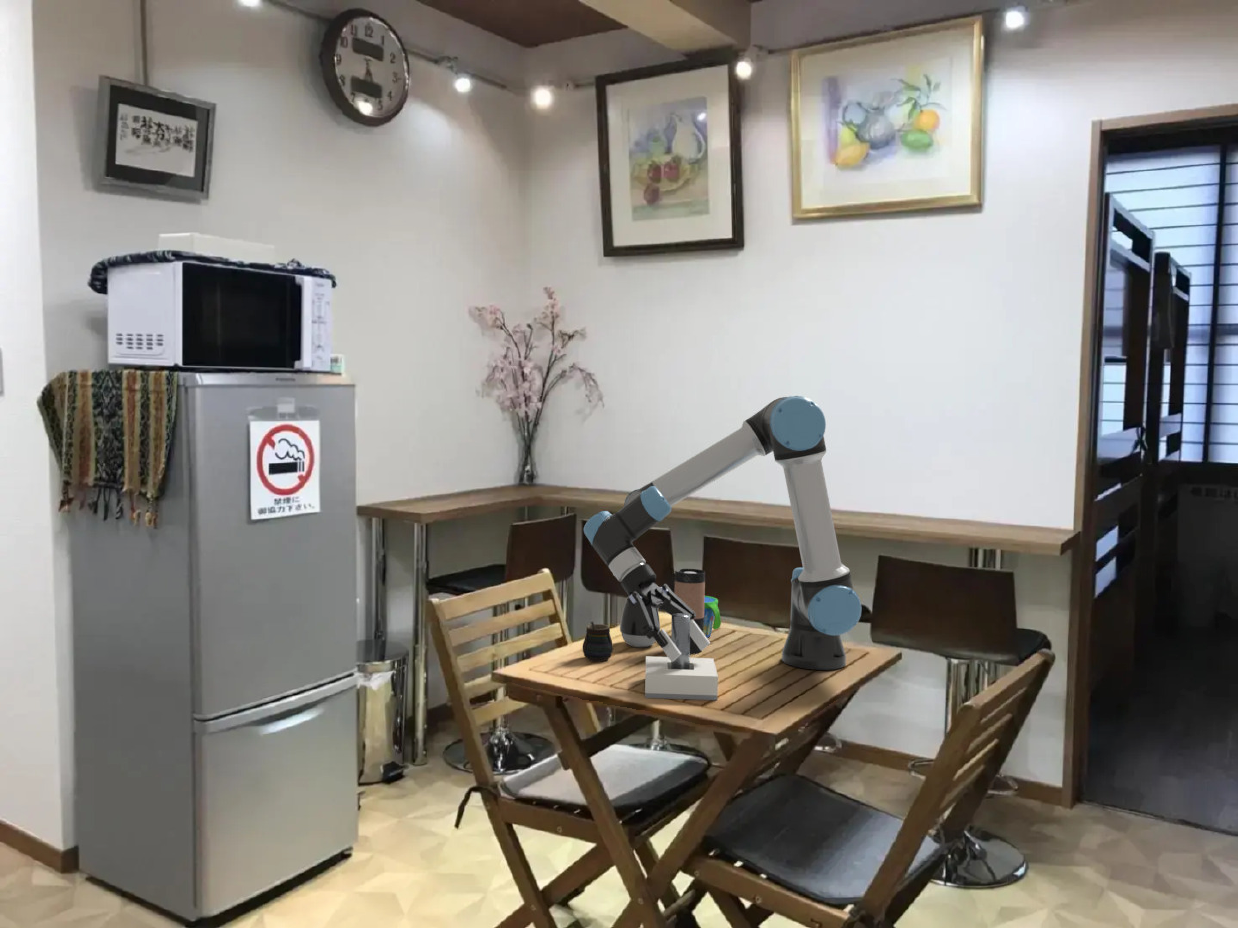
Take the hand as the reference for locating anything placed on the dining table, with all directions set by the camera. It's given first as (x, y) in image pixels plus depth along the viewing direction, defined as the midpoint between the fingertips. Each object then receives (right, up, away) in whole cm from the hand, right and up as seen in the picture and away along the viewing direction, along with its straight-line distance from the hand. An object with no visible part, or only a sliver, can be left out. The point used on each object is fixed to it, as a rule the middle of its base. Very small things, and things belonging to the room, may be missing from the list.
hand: (691, 652), depth 214 cm
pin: (-2, -7, +2) cm, 8 cm away
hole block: (-2, -8, +2) cm, 9 cm away
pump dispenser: (-10, -6, +41) cm, 43 cm away
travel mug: (+2, -7, +37) cm, 37 cm away
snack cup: (+5, -6, +53) cm, 53 cm away
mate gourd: (-21, -7, +25) cm, 33 cm away
